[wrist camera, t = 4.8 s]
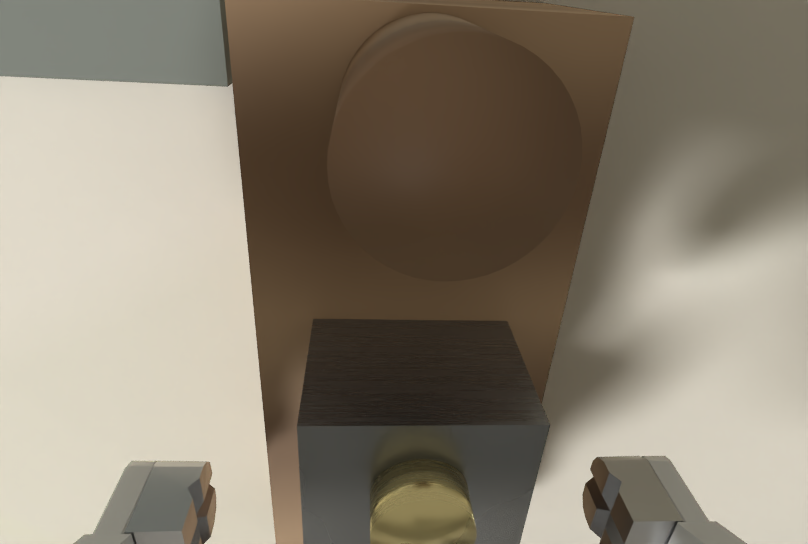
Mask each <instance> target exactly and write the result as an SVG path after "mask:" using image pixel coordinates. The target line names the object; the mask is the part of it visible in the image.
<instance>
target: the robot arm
mask: <svg viewBox="0 0 808 544" xmlns="http://www.w3.org/2000/svg"><path fill="white" fill-rule="evenodd" d="M590 470H591V472H592V474H593V476H594V477H593V478H592V479H590V480H589V481H588V482H587V483H586V484H585V488H584V491H583V509H584V513H585V518H586V520H587V523H588V525H589V528H590V529H591V530H592V531H593V532H594V533H595V534H597V535H598V536H599V537H600V538H601V540H600V543H599V544H747V543H746V542H744V541H743V540H741V539H740V538H739V537H737V536H736V535H734V534H733V533H732V532H730V531H729V530H727V529H726V528H725V527H723V526H722V525H720V524H719V523H718V522H713V521H709V520H708V518H707V517H706V515H705V514H704V512H703V511H702V509H701V507H700V506H699V504H698V503H697V501H696V500H695V498H694V497H693V495H692V493H691V492H690V490H689V489H688V487H687V486H686V484H685V482H684V481H683V479H682V478H681V476H680V475H679V473H678V472H677V470H676V468H675V467H674V465H673V464H672V462H671V461H670V460H669V459H668V458H667V457H666V456H642V457H640V456H616V457H597V458H596V459H594V460H593V463H592V465H591V468H590ZM211 476H212V470H211V466H210V462H199V461H131V462H130V463H129V464H128V466H127V467H126V468H125V469H124V471H123V473H122V475H121V477H120V480H119V482H118V484H117V486H116V488H115V490H114V492H113V494H112V496H111V498H110V500H109V502H108V504H107V506H106V508H105V510H104V512H103V514H102V516H101V518H100V520H99V522H98V524H97V526H96V528H95V530H94V532H93V534H87V535H83V536H82V537H81V538H80V539H78V540H77V541H76V542H75V543H73V544H204V543H205V542H206V541H207V540H208V539H209V538H210V537H211V533H212V529H213V525H214V520H215V513H216V494H215V488H213V487H212V486H211V485H210V484H209V483H210V479H211Z"/></svg>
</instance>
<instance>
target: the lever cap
mask: <svg viewBox="0 0 808 544" xmlns="http://www.w3.org/2000/svg"><path fill="white" fill-rule="evenodd" d="M549 427H550V424H549V421H548V419H547V416H546V414H545V411H544V409H543V407H542V404H541V402H540V399H539V397H538V394H537V392H536V390H535V387H534V385H533V382H532V380H531V377H530V375H529V373H528V370H527V368H526V365H525V363H524V360H523V358H522V356H521V353H520V351H519V348H518V346H517V343H516V341H515V339H514V336H513V334H512V331H511V329H510V326H509V324H508V322H507V321H475V320H385V319H313V323H312V330H311V336H310V343H309V350H308V356H307V363H306V369H305V376H304V383H303V389H302V396H301V403H300V409H299V416H298V422H297V437H298V455H299V473H300V492H301V510H302V528H303V544H520V540H521V536H522V532H523V528H524V525H525V521H526V517H527V513H528V509H529V505H530V501H531V497H532V493H533V489H534V486H535V482H536V478H537V474H538V470H539V466H540V462H541V458H542V454H543V450H544V447H545V443H546V439H547V435H548V431H549Z"/></svg>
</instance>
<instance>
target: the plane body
mask: <svg viewBox="0 0 808 544" xmlns="http://www.w3.org/2000/svg"><path fill="white" fill-rule="evenodd" d="M225 9H226V20H227V30H228V41H229V51H230V62H231V73H232V83H233V94H234V104H235V115H236V125H237V136H238V147H239V157H240V168H241V178H242V189H243V199H244V210H245V221H246V231H247V242H248V252H249V263H250V273H251V284H252V295H253V305H254V316H255V326H256V337H257V348H258V358H259V369H260V379H261V390H262V400H263V411H264V422H265V432H266V443H267V453H268V464H269V474H270V485H271V496H272V506H273V517H274V527H275V538H276V544H303V528H302V510H301V492H300V473H299V455H298V437H297V422H298V416H299V409H300V403H301V396H302V389H303V383H304V376H305V369H306V363H307V356H308V350H309V343H310V336H311V330H312V323H313V319H385V320H475V321H507V322H508V324H509V326H510V329H511V331H512V334H513V336H514V339H515V341H516V343H517V346H518V348H519V351H520V353H521V356H522V358H523V360H524V363H525V365H526V368H527V370H528V373H529V375H530V377H531V380H532V382H533V385H534V387H535V390H536V392H537V394H538V397H539V399H540V402H541V404H542V400H543V395H544V391H545V387H546V383H547V379H548V375H549V370H550V366H551V362H552V358H553V354H554V350H555V345H556V341H557V337H558V333H559V329H560V325H561V320H562V316H563V312H564V308H565V304H566V299H567V295H568V291H569V287H570V283H571V279H572V274H573V270H574V266H575V262H576V258H577V254H578V249H579V245H580V241H581V237H582V233H583V229H584V224H585V220H586V216H587V212H588V208H589V204H590V199H591V195H592V191H593V187H594V183H595V179H596V174H597V170H598V166H599V162H600V158H601V154H602V149H603V145H604V141H605V137H606V133H607V129H608V124H609V120H610V116H611V112H612V108H613V104H614V99H615V95H616V91H617V87H618V83H619V78H620V74H621V70H622V66H623V62H624V58H625V53H626V49H627V45H628V41H629V37H630V33H631V28H632V24H633V20H634V17H631V16H625V15H618V14H612V13H605V12H599V11H593V10H586V9H580V8H573V7H567V6H560V5H554V4H547V3H534V2H518V1H502V0H225Z"/></svg>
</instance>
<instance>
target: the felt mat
mask: <svg viewBox="0 0 808 544" xmlns="http://www.w3.org/2000/svg"><path fill="white" fill-rule="evenodd" d="M0 76H11V77H33V78H54V79H76V80H98V81H119V82H141V83H162V84H184V85H206V86H227V87H228V86H229V85H230V84H232V73H231V62H230V51H229V41H228V30H227V20H226V9H225V0H0Z"/></svg>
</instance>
